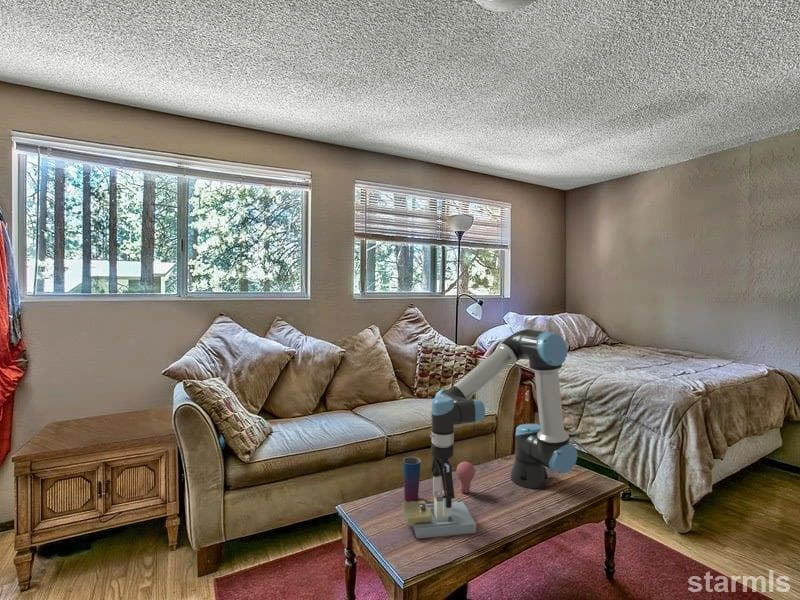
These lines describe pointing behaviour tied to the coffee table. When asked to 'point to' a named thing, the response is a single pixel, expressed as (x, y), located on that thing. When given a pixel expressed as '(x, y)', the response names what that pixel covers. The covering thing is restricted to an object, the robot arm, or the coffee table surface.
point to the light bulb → (465, 475)
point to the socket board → (447, 523)
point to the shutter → (416, 513)
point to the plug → (439, 507)
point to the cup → (411, 478)
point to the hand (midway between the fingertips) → (442, 504)
